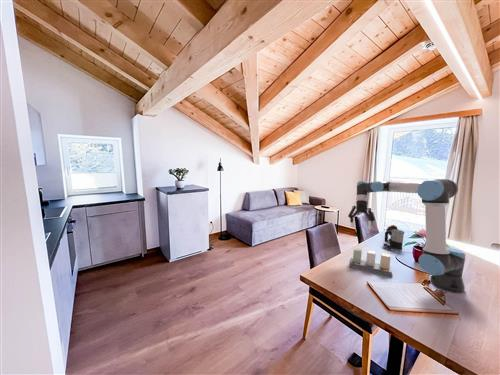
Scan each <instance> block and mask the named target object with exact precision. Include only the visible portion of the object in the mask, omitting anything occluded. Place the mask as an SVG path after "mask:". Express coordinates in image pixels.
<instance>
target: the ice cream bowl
mask: <svg viewBox="0 0 500 375" xmlns="http://www.w3.org/2000/svg"><path fill="white" fill-rule="evenodd" d="M392 229H396V230H399V229H398V227H397V225H395V224H393V225H389V226H388V227H387V229H386V231H388V230H390V231H392ZM386 231H385V232H386ZM388 236H390V237H391V233H388ZM388 241H390V238H388Z"/></svg>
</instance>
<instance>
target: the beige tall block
mask: <svg viewBox="0 0 500 375" xmlns="http://www.w3.org/2000/svg"><path fill="white" fill-rule="evenodd" d="M379 262H380V263H379V264H380V268H383V269H388V270H389V266H391V265H390V264H391V254H389V253H384V252H381V253H380V260H379Z"/></svg>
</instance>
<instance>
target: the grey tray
mask: <svg viewBox="0 0 500 375" xmlns="http://www.w3.org/2000/svg"><path fill="white" fill-rule="evenodd" d="M349 268H352V269H356V270H361V271H364V272H369V273H373V274H379V275H383V276H386V277H390V278H391V277H392V278H393V275H394V274H393V270H392V267H391V265H390V266H389V270H388V269H383V268H380V263H377V262H375V266H370V265H366V260H364V259H361V263H356V262H353V257H351V258H350V262H349Z"/></svg>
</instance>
